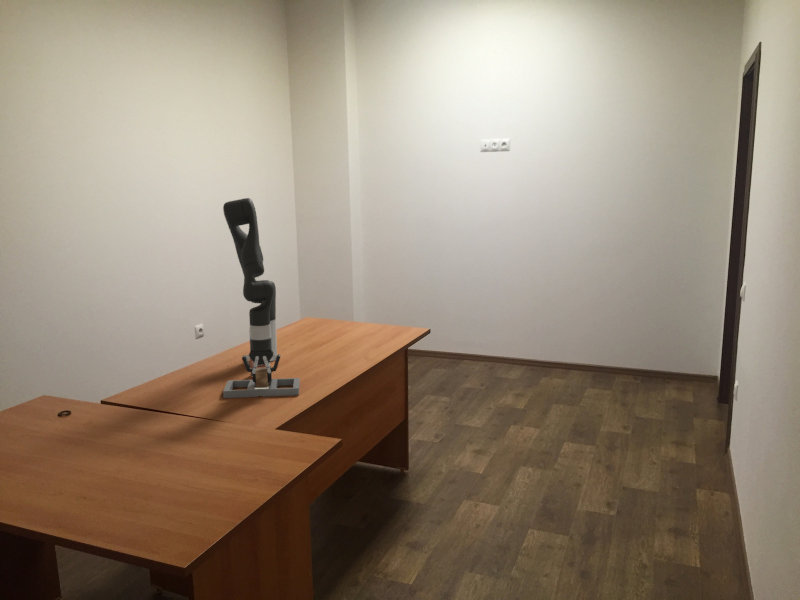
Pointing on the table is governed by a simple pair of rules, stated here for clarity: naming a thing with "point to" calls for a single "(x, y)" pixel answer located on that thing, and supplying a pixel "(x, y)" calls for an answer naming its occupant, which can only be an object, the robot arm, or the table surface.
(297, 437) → the table surface
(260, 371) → the wooden block
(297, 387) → the grey compartment tray
